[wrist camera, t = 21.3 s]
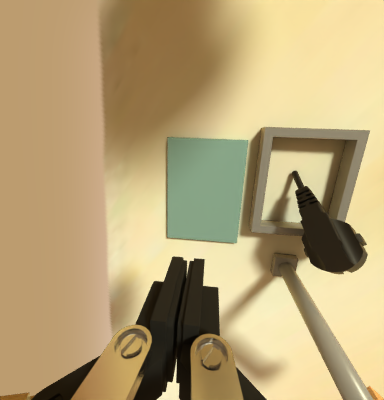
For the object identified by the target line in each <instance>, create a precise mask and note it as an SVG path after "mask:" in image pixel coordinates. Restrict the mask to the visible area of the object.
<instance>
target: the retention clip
mask: <svg viewBox="0 0 384 400" xmlns="http://www.w3.org/2000/svg"><path fill="white" fill-rule="evenodd" d="M367 390H368V391H369V393H370V395H371V396H372V398H373V400H384V399H383V398H382V397H381V396H380V395H379V394H378V393H377V392H376V391H375V390H373V389H372V388H371V387H370V386H369V387H367Z"/></svg>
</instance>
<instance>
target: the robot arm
mask: <svg viewBox="0 0 384 400" xmlns="http://www.w3.org/2000/svg"><path fill="white" fill-rule="evenodd" d="M204 260H205V259H195V258H194V261H190V263H189V268H188V273H187V261H185V260H183V257H172V260H171V263H170V266H169V268H168V271H167V274H166V277H165V280H164V282H159V281H154V282H153V284H152V287H151V289H150V291H149V294H148V296H147V298H146V301H145V303H144V305H143V308H142V310H141V312H140V315H139V317H138V320H137V322H136V324H135V325H131V326H127V327H125V328H123V329H121V330H120V331H119V332H117V333H116V335H115V336H114V337H113V338H112V340H111V341H110V343H109V344H108V346H107V347H106V349H105V350H104V351H103V353H102V354H101V355H100V356H99V357H97V358H96V359H94V360H92V361H91V362H88V363H87V364H85V365H83V366H82V367H80V368H78V369H77V370H75V371H73V372H72V373H70V374H68V375H66V376H65V377H63V378H61V379H60V380H58V381H56V382H55V383H53V384H51V385H49V386H48V387H46V388H44V389H43V390H42V391H40V392H39V393H37V394H36V395H35V396H30V393H22V394H14V395H6V396H0V400H157V399H158V398H159V397H160V396H161V395H162V392H166V388H167V382H172V381H173V377H174V371H175V365H176V359H177V378H176V383H180V384H179V398H180V400H266V398H265V397H264V396H263V395H262V394H261V393H260V392H259V391H258V390H257V389H256V388H255V387H254V386H253V385H252V383H251V382H250V381H249V380H248V379H247V378H246V377H245V376H244V375H243V374H242V373H241V372H240V371H239V370H238V368H237V367H236V366H235V361H234V357H233V353H232V350H231V348H230V346H229V344H228V343H227V342H226V341H225V340H224V339H223V338H221V337H220V330H219V297H218V287H208V286H203V276H204ZM186 277H187V279H186Z"/></svg>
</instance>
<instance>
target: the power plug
mask: <svg viewBox="0 0 384 400" xmlns="http://www.w3.org/2000/svg"><path fill="white" fill-rule="evenodd" d="M292 175H293V178H294V180H295V182H296V184H297V187H298V190H296V191H295V193H296V196H297V197H296V198H297V200H298V201H297V203H298V204H299V205H298V208H299V212H300V215H301V217H302V221H300V222H301V224H302V227H303V229H304V234H303V237H302V241H303V244H304V247H305V248H304V251H305V254H306V256H307V257H309V259H310V262H311V264H313V265H314V266H315V267H317V268H319V269H321V270H324V271H327V272H331V273H334V274H344V273H343V272H344V271H349V272H351V273H352V272H354V271H356V270H358V269H359V268H360V267H362V266H363V264H364V263H365V261H366V259H367V255H368V254H367V252H366V251H365V249H364V247H363V246H364V245H367V244H366V242H365V241H364V239H363V237H362V236H361V235H360V234H359V233H358V234H356V232H355V230H354V229H353V228H352V227H351V226H350V225H349V224H347V223H345V222H343V221H340V220H337V219H332V218H330V217H329V215H328V213H327V212H325V210H324V208H323V207H322V205H321V204H320V202H319V201H318V200H317V198H316V197H315V195H314V194H313V193H312V191H311V190H310V189H309V188H308V187H307V186H305V187H304V185H303V183H302V181H301V179H300V177H299V174H298V172H297V171H293V172H292Z"/></svg>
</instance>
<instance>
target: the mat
mask: <svg viewBox="0 0 384 400" xmlns="http://www.w3.org/2000/svg"><path fill="white" fill-rule="evenodd" d="M247 148H248V140H227V139H201V138H175V137H168V218H167V237H170V238H182V239H194V240H206V241H218V242H230V243H237V236H238V228H239V219H240V210H241V201H242V192H243V183H244V174H245V166H246V157H247Z"/></svg>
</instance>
